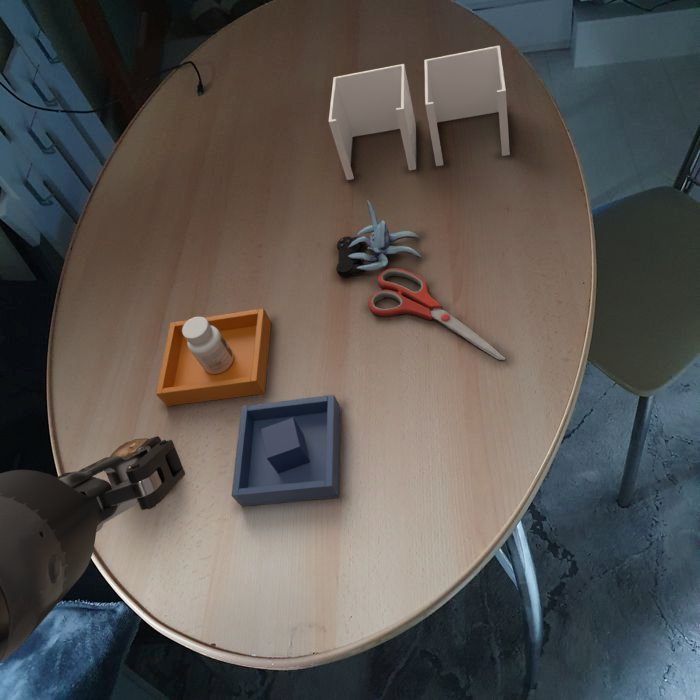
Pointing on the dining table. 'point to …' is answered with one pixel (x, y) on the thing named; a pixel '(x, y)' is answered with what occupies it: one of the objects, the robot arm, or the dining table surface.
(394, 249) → the figurine
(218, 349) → the pill bottle
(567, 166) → the dining table surface
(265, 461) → the blue tray
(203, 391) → the amber tray
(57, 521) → the robot arm
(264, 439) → the blue block
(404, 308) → the scissors
